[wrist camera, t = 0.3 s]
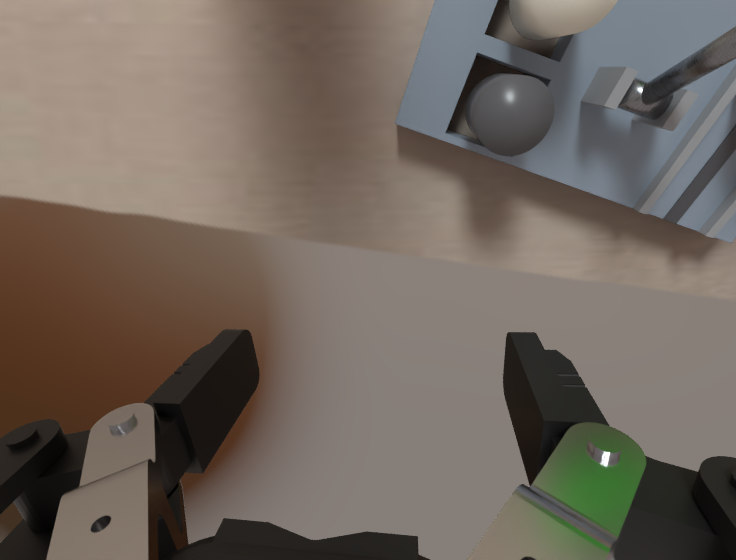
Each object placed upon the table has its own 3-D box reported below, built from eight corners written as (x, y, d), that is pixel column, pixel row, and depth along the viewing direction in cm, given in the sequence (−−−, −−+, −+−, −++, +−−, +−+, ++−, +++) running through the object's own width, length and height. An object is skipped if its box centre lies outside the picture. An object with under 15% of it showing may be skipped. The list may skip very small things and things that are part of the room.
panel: (464, -90, 22) (479, -138, 17) (851, 62, 24) (974, 61, 18) (396, 119, 28) (391, 131, 23) (708, 230, 30) (770, 265, 24)
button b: (481, 63, 23) (497, 63, 19) (540, 85, 24) (569, 90, 19) (455, 128, 26) (463, 142, 21) (509, 148, 26) (529, 166, 21)
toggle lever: (618, 80, 22) (841, -78, 12) (655, 94, 22) (904, -51, 12) (606, 115, 22) (819, -14, 12) (643, 129, 22) (884, 12, 12)
